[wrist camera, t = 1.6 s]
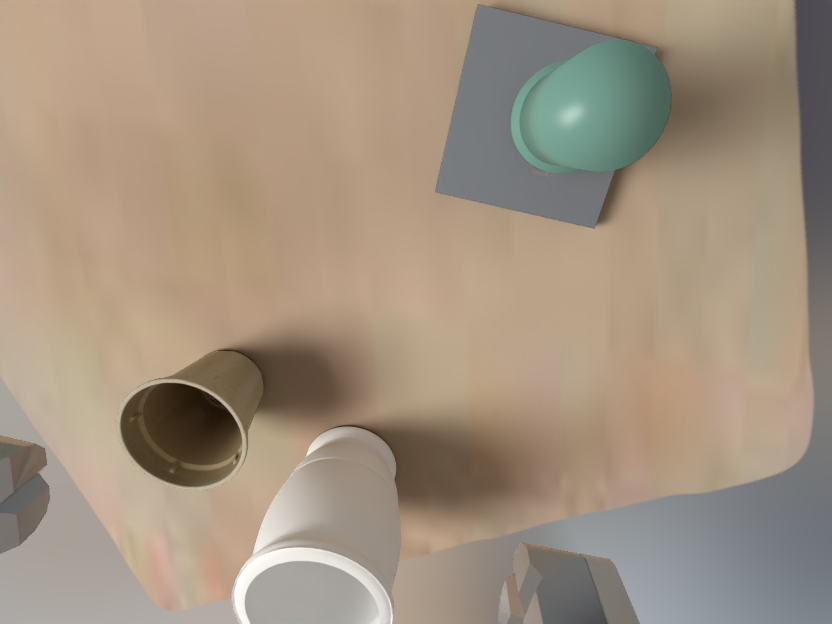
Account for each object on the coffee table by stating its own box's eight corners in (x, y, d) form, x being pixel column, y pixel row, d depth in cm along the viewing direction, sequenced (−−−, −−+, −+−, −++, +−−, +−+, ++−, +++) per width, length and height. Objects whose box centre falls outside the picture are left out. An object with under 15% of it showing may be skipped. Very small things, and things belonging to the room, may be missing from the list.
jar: (274, 461, 44) (198, 609, 30) (344, 393, 41) (296, 520, 27) (358, 525, 46) (324, 690, 32) (430, 463, 43) (427, 615, 29)
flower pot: (295, 353, 40) (260, 405, 32) (269, 439, 43) (230, 506, 35) (189, 316, 40) (125, 360, 31) (170, 406, 43) (107, 468, 34)
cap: (497, 160, 28) (520, 164, 20) (526, 52, 26) (563, 12, 18) (591, 181, 28) (649, 194, 20) (627, 76, 26) (705, 47, 18)
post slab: (435, 190, 35) (435, 192, 34) (476, 10, 31) (477, 4, 30) (588, 225, 36) (594, 228, 34) (647, 52, 32) (657, 47, 30)
